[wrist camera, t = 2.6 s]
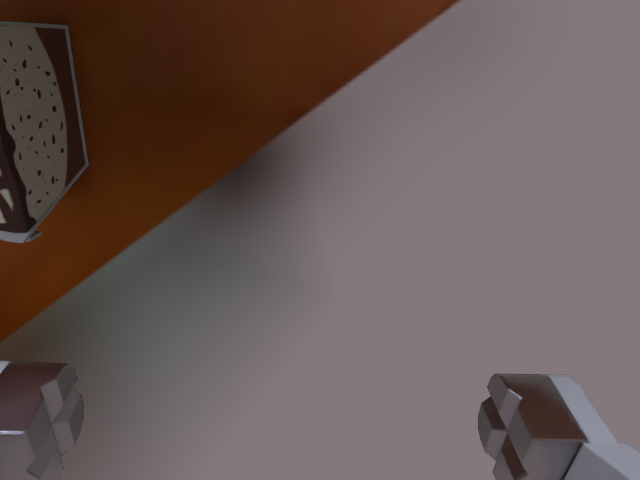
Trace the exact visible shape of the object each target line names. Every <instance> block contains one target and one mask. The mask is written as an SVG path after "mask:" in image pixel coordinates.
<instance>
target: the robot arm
mask: <svg viewBox="0 0 640 480" xmlns="http://www.w3.org/2000/svg"><path fill="white" fill-rule="evenodd" d="M76 380H77V375H76V372H75V368H74V365H71V364H66V363H45V362H25V361H0V480H59V478H60V476H61V473H62V471H63V469H64V466H63V463H62V459H61V456H62V455H63V454H64V453H66V452H67V451H68V450H70V449H71V448H72V447H73V446H74V445H75V443H76V440H77V438H78V436H79V434H80V431H81V426H82V421H83V417H84V404H83V400H82V395H81V394H80V393H78V392H77V391H76V390H75V389H74V388H73V386H74V384H75V382H76ZM487 388H488V390H489V393H490V395H491V396H490V397H489V398H488V399H486V400H485V401H484V402H482V404H481V407H480V411H479V414H478V430H479V435H480V440H481V442H482V445H483V448H484V450H485V452H486V453H487V454H489V455H490V456H491V457H492V458H493V459H494V460H496V464H495V466H494V469H493V474H494V476H495V479H496V480H640V453H639V452H637V451H636V450H634V449H633V448H632V447H630V446H629V445H627V444H621V443H618V442H617V441H616V439H615V438H614V436H613V435H612V433H611V432H610V430H609V429H608V427H607V426H606V424H605V423H604V421H603V420H602V418H601V417H600V415H599V414H598V413H597V411H596V410H595V408H594V407H593V405H592V404H591V402H590V401H589V399H588V398H587V396H586V395H585V393H584V392H583V390H582V389H581V388H580V386H579V385H578V383H577V382H576V380H575V379H574V378H573V377H571V376H570V375H554V374H544V375H541V374H494V375H493V376H492V377H491V379H490V381H489V384H488V387H487Z"/></svg>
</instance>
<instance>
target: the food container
mask: <svg viewBox="0 0 640 480" xmlns="http://www.w3.org/2000/svg"><path fill="white" fill-rule="evenodd" d="M88 166H89V162H88V156H87V149H86V142H85V135H84V129H83V122H82V115H81V109H80V102H79V95H78V89H77V82H76V75H75V68H74V62H73V55H72V48H71V42H70V35H69V28H68V25H58V24H42V23H26V22H10V21H0V240H4V241H9V242H17V243H24V242H25V241H28V242H30V241H32V240H33V239H35V238H37V237H39V236H40V235H42V232H37V231H35V230H36V229H37V227H38V226H39V225H40V224H41V223H42V221H43V220H44V219H45V218H46V217H47V215H48V214H49V213H50V212H51V210H52V209H53V208H54V207H55V206H56V204H57V203H58V202H59V201H60V200H61V198H62V197H63V196H64V195H65V194H66V192H67V191H68V190H69V189H70V187H71V186H72V185H73V184H74V183H75V181H76V180H77V179H78V178H79V177H80V175H81V174H82V173H83V172H84V170H85V169H86V168H87V167H88Z"/></svg>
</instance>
